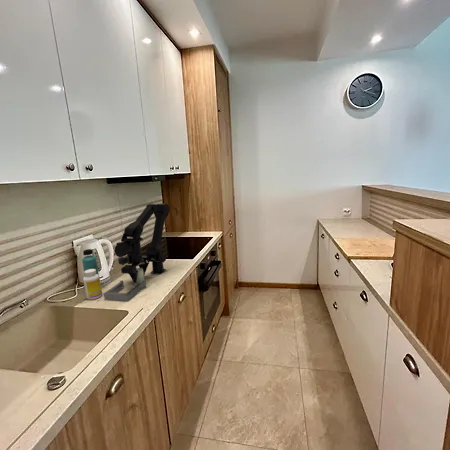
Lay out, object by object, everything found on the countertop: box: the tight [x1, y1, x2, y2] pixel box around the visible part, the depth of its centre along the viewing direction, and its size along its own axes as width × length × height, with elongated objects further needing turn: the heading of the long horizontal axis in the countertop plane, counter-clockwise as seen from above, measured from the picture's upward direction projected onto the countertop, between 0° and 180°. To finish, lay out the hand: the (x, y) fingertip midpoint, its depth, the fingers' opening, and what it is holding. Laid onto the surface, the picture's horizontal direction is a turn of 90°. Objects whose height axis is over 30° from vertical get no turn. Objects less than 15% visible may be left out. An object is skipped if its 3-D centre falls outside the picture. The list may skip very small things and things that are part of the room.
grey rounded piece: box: [133, 267, 146, 286], centre depth 133 cm, size 5×5×7 cm
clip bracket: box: [103, 279, 147, 302], centre depth 122 cm, size 14×14×3 cm
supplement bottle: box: [82, 269, 103, 300], centre depth 119 cm, size 7×7×13 cm
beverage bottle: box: [81, 248, 100, 278], centre depth 128 cm, size 6×7×20 cm
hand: (139, 279), depth 133 cm, fingers open, 7 cm apart
